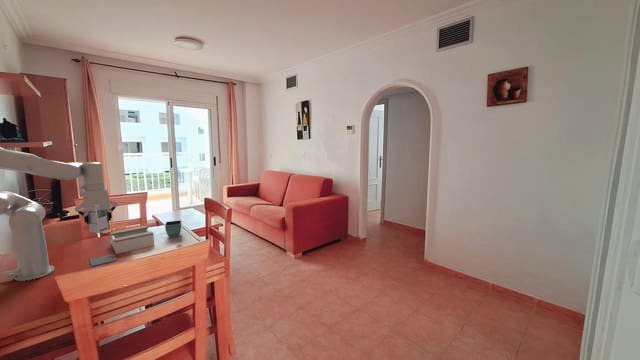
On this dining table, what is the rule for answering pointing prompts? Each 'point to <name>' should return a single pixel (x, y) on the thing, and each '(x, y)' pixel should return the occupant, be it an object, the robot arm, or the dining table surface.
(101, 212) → the syrup box
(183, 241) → the dining table surface
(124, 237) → the slotted crate
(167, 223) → the flower pot
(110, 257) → the placing mat
